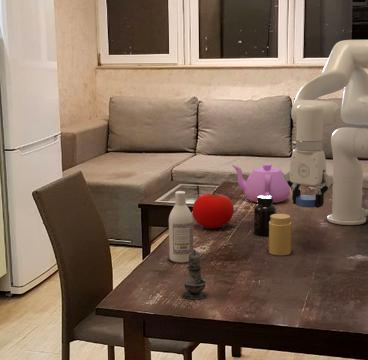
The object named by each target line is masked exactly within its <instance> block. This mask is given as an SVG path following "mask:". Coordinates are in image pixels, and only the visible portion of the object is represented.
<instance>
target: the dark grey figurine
mask: <svg viewBox="0 0 368 360" xmlns="http://www.w3.org/2000/svg"><path fill="white" fill-rule="evenodd" d="M187 269H188V276H187V278H185V279H183V281H182V283H183V285H184V288H185V290H186V292H185V293H184V294H183V295H184V297H185V298H186V299H190V300H201V299H203V298H205V297H206V293H205V292H203V291H204V290H205V288H206V284H207V279H204V278H202V272H201V271H202V269H203V266H202V265H201V255H200V253H198V252H196V250H195V249H194V248H193V253H191V254H190V255H189V262H188V265H187Z"/></svg>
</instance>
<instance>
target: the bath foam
mask: <svg viewBox="0 0 368 360" xmlns="http://www.w3.org/2000/svg"><path fill="white" fill-rule="evenodd" d="M186 193H187V192H185V191H184V190H177V191H175V192H174V196H175V197H174V198H175V200H174V202H175V204H174V206H173V207H172V209H171V211H170V213H169V216H168V253H169V260H170V261H171V262H174V263H180V264H181V263H184V264H185V263H189V255H190V254H191V253H193V251H194V216H193V213H192V212H191V210H190V208H189V207H188V206H187V203H186V202H187V196H186Z"/></svg>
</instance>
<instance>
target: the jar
mask: <svg viewBox="0 0 368 360" xmlns="http://www.w3.org/2000/svg"><path fill="white" fill-rule="evenodd" d="M270 217H271V220H270V222H269V236H268V254H271V255H274V256H288V255H290V254H291V253H292V221H291V219H292V218H291V216H290V215H289V214H288V213H287V214H286V213H276V214H273V215H271V216H270Z"/></svg>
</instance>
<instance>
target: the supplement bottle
mask: <svg viewBox="0 0 368 360" xmlns="http://www.w3.org/2000/svg"><path fill="white" fill-rule="evenodd" d="M256 203H257V204H256V205H255V206H254V207H253V233H254V234H255V235H257V236H260V237H261V236H262V237H269V222H270V220H271V217H270V216H271V215H273V214H277V208H276V206H275V205H274V204H273V203H274V202H273V197H271V196H258V201H257V202H256Z"/></svg>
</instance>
